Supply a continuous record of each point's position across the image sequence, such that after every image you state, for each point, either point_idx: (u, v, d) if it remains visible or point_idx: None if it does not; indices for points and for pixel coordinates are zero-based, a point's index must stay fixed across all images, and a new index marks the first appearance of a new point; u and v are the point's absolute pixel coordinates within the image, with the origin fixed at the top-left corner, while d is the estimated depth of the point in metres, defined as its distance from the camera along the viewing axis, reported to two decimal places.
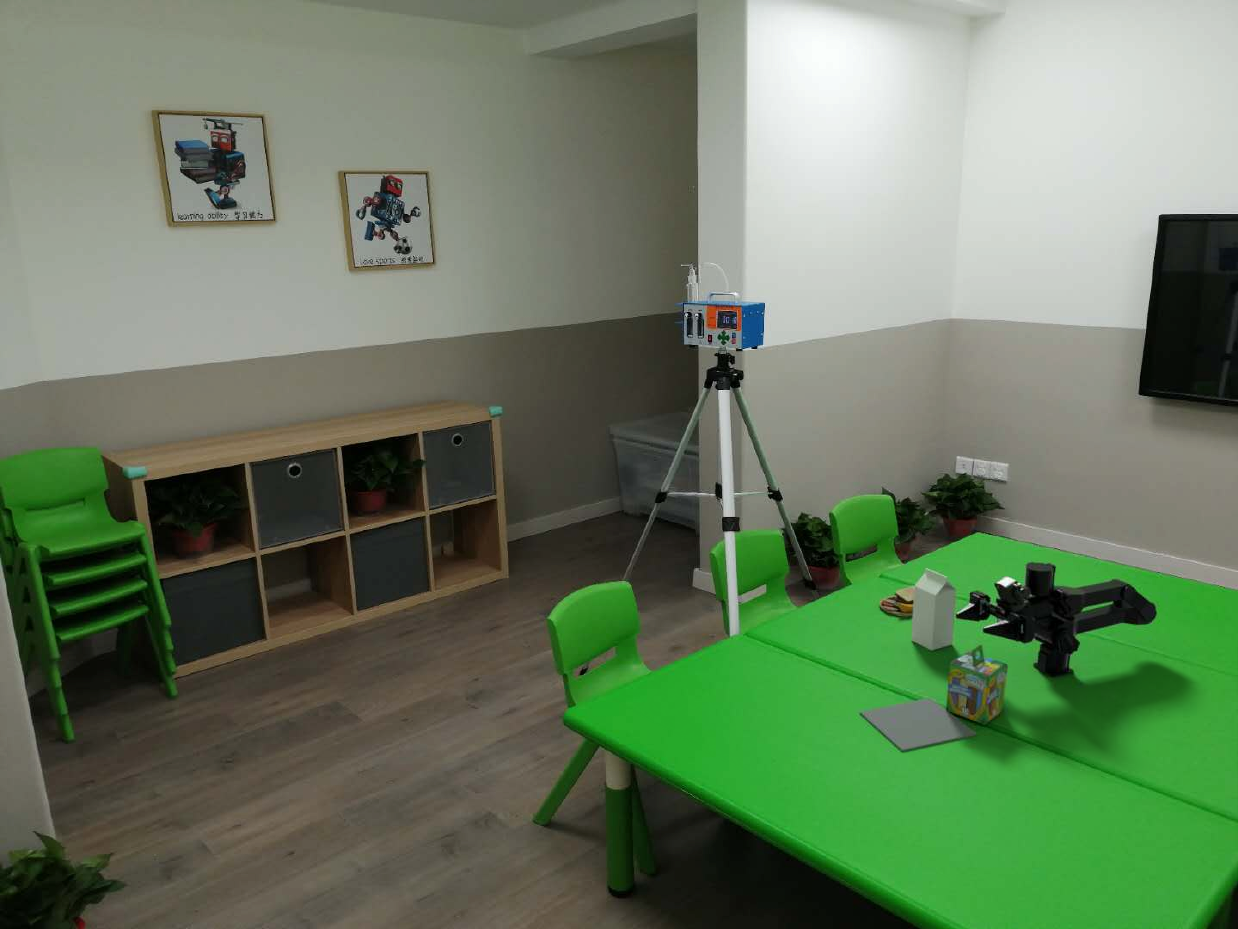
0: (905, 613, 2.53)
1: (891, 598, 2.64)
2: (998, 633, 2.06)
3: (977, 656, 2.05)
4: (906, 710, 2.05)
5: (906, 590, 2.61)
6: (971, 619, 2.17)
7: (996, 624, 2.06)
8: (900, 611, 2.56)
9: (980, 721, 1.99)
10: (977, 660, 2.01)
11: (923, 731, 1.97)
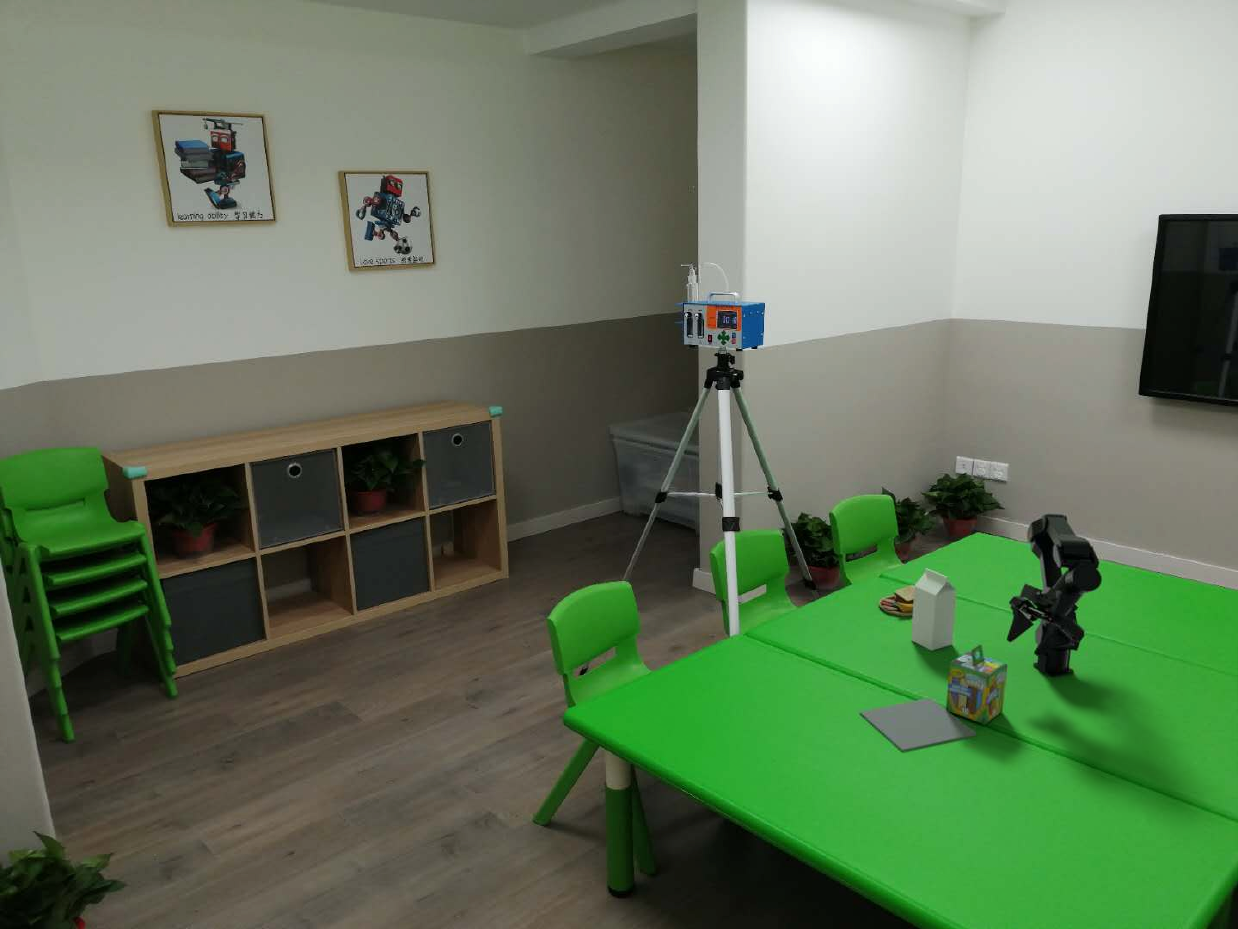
0: (905, 613, 2.53)
1: (890, 598, 2.64)
2: (1050, 647, 2.01)
3: (977, 656, 2.05)
4: (906, 710, 2.05)
5: (906, 590, 2.61)
6: (1024, 630, 2.11)
7: (1043, 642, 2.01)
8: (900, 611, 2.56)
9: (980, 721, 1.99)
10: (977, 660, 2.02)
11: (923, 731, 1.97)
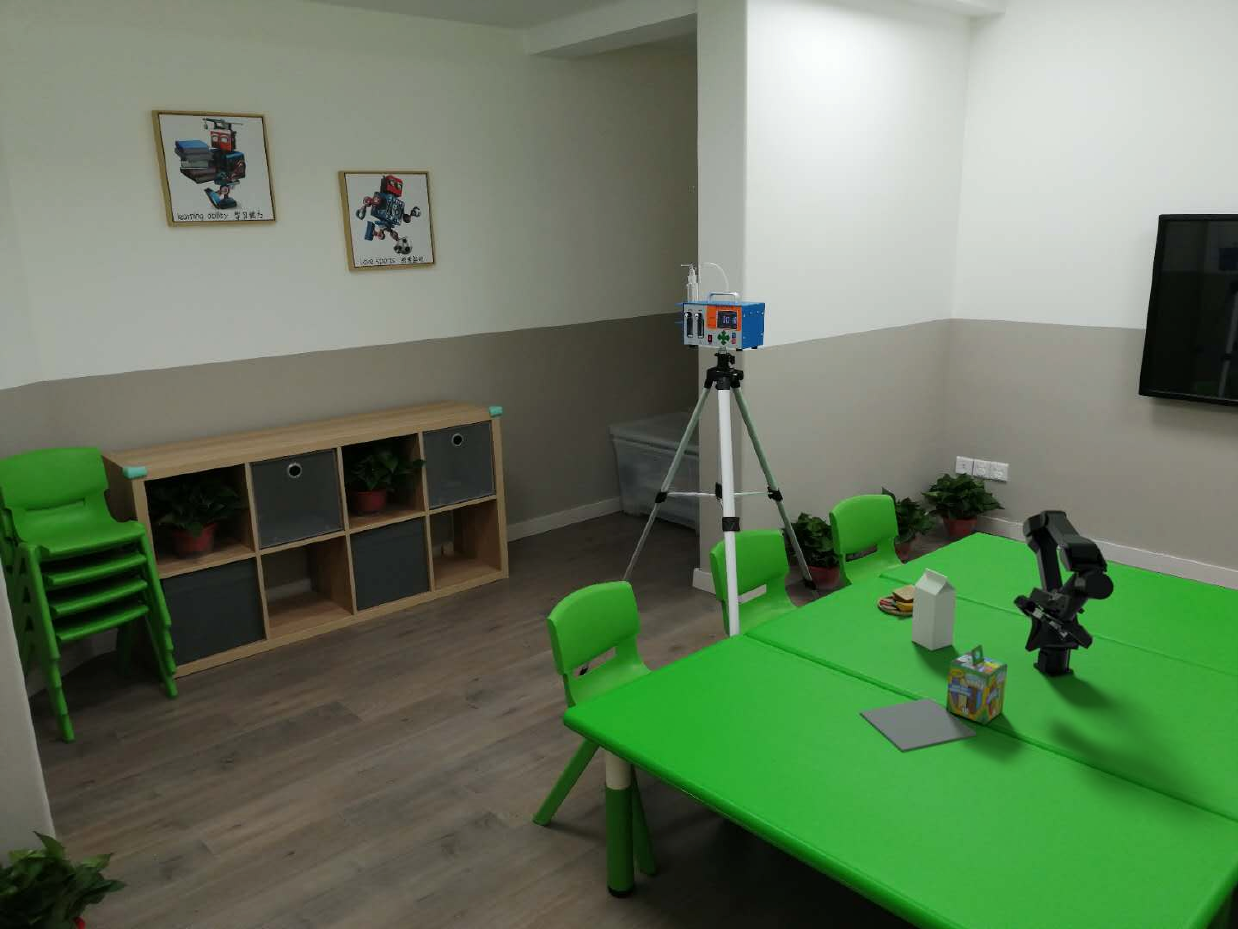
0: (904, 612, 2.54)
1: (889, 597, 2.64)
2: (1042, 644, 2.04)
3: (977, 656, 2.05)
4: (906, 710, 2.05)
5: (904, 589, 2.61)
6: None
7: (1036, 639, 2.04)
8: (899, 610, 2.57)
9: (980, 721, 1.99)
10: (977, 660, 2.02)
11: (923, 731, 1.97)
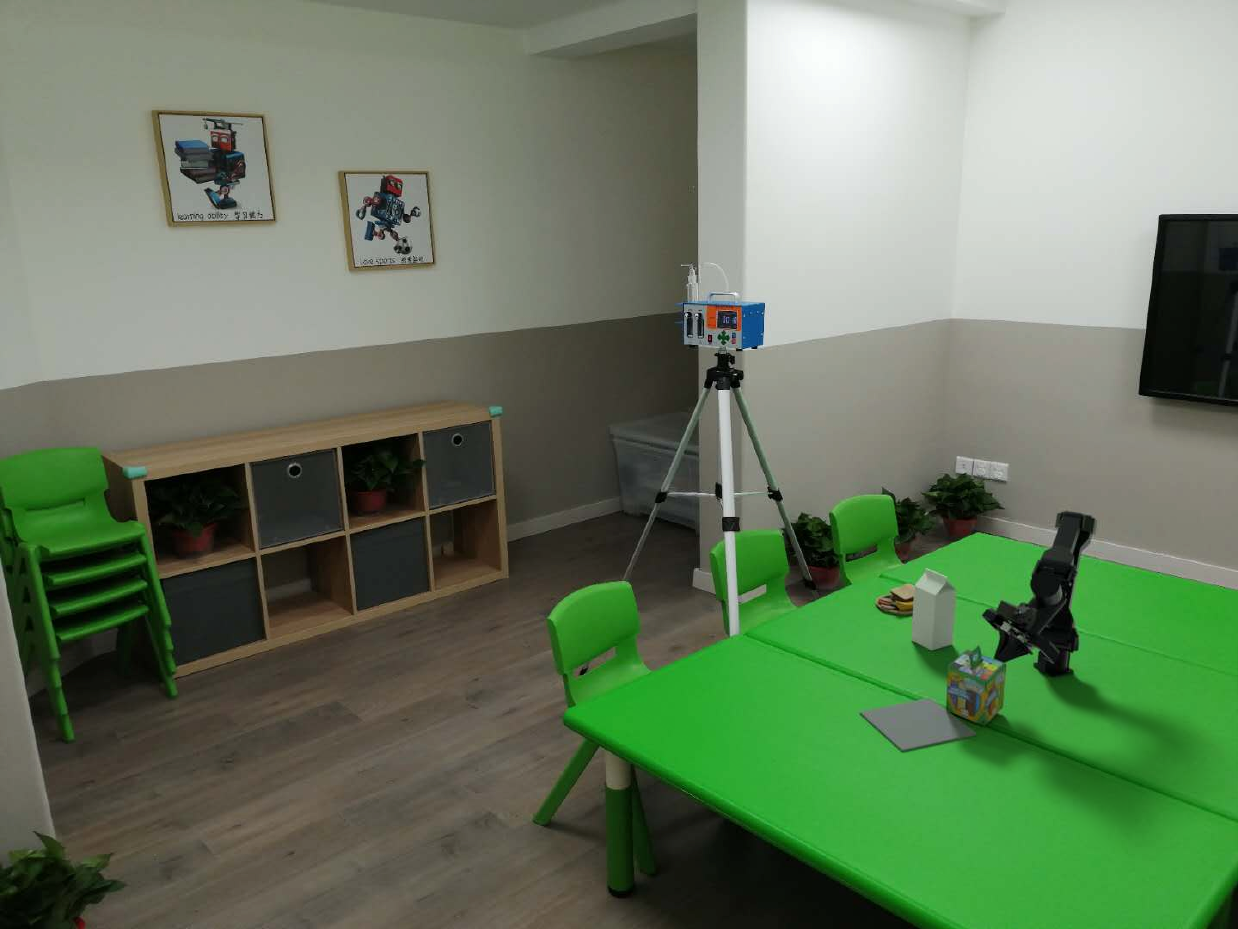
0: (903, 611, 2.54)
1: (886, 596, 2.65)
2: (1010, 658, 2.02)
3: (975, 655, 2.03)
4: (906, 710, 2.05)
5: (902, 588, 2.62)
6: None
7: (1003, 653, 2.02)
8: (897, 609, 2.57)
9: (980, 723, 1.99)
10: (975, 662, 2.00)
11: (923, 731, 1.97)
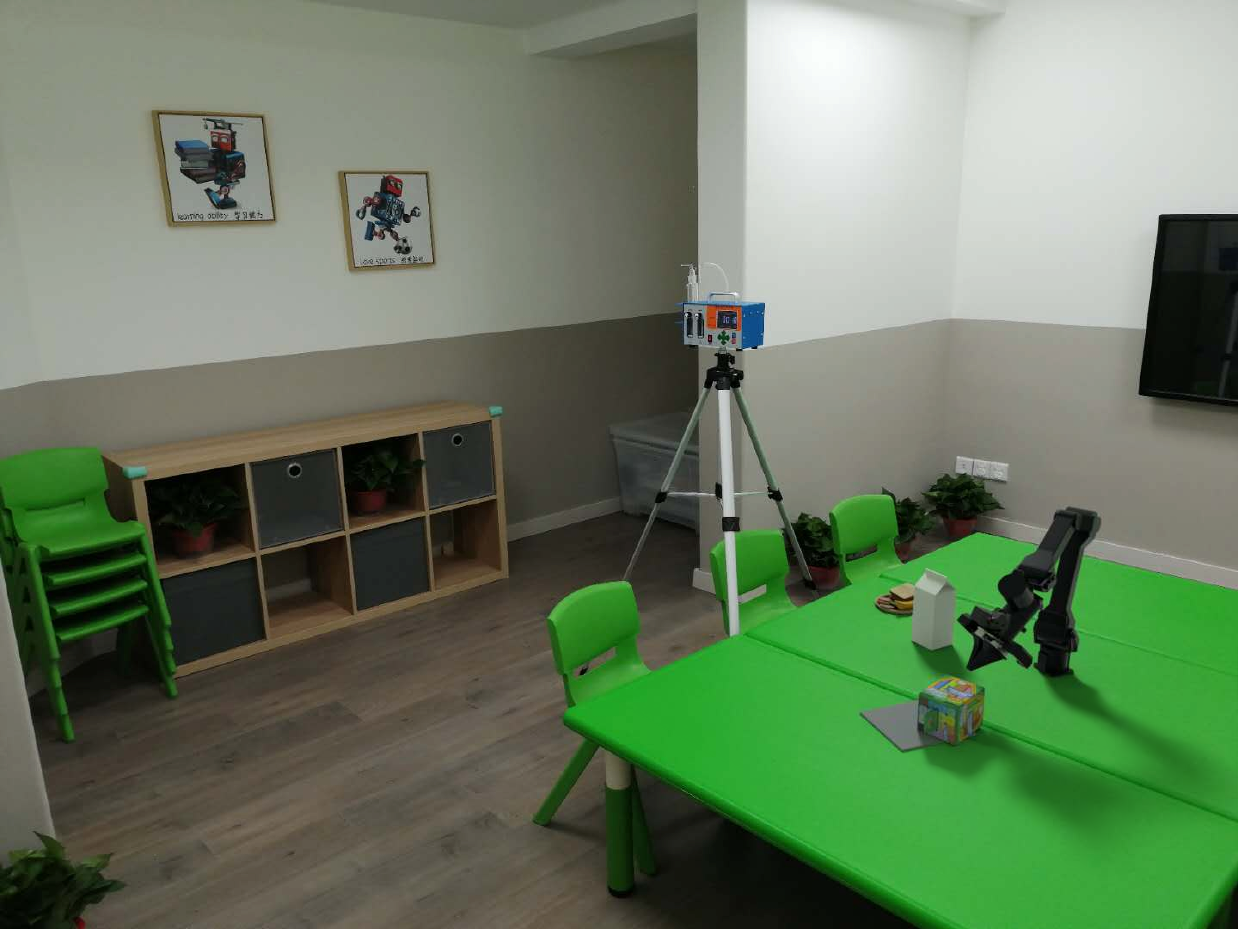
0: (902, 610, 2.55)
1: (885, 596, 2.65)
2: (984, 663, 2.01)
3: (929, 704, 1.94)
4: (906, 710, 2.05)
5: (900, 588, 2.62)
6: None
7: (977, 659, 2.00)
8: (896, 609, 2.57)
9: None
10: (934, 723, 1.93)
11: None
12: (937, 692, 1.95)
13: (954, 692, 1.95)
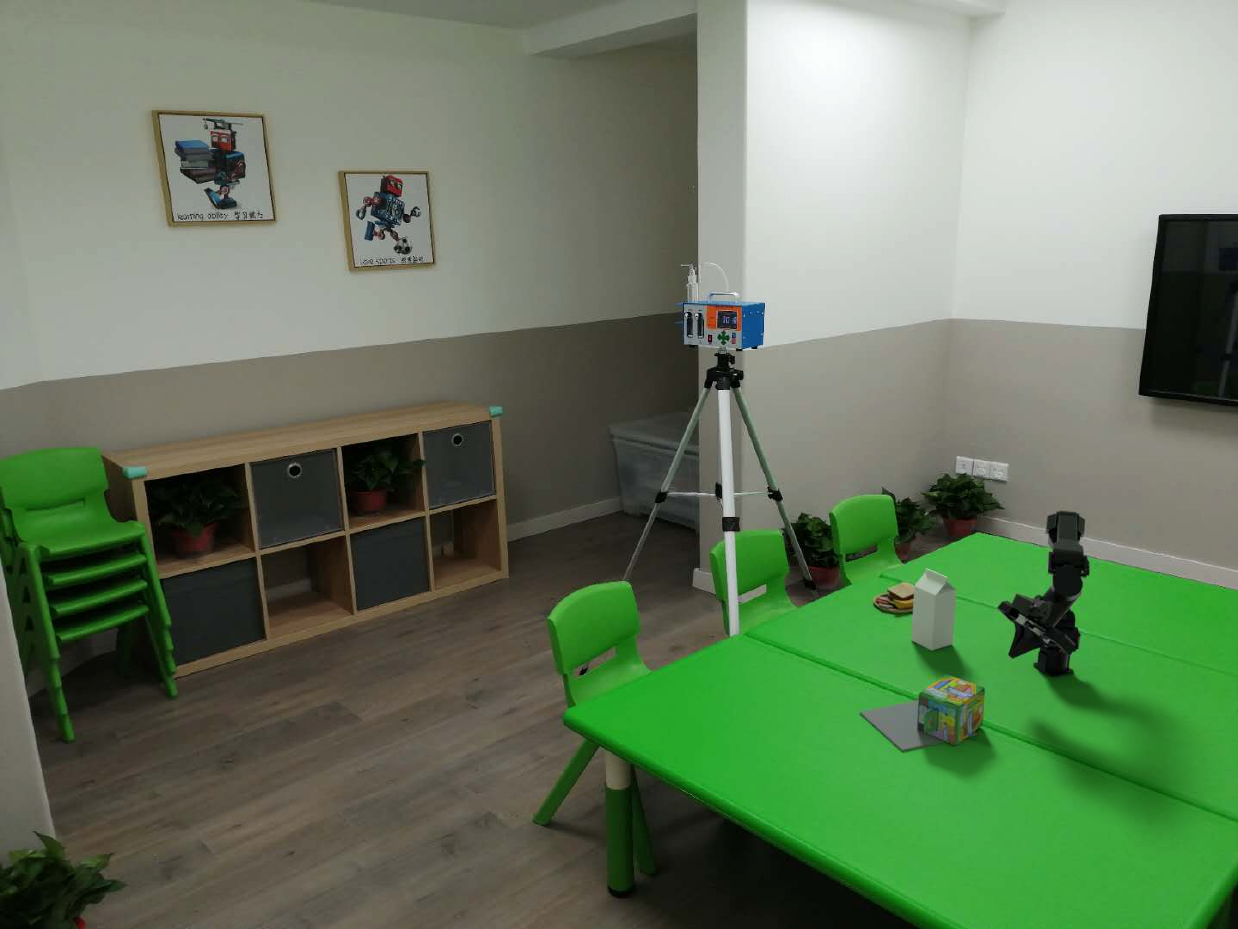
0: (901, 610, 2.55)
1: (883, 595, 2.66)
2: (1025, 650, 2.04)
3: (929, 704, 1.94)
4: (906, 710, 2.05)
5: (899, 587, 2.63)
6: None
7: (1019, 646, 2.03)
8: (895, 608, 2.58)
9: None
10: (934, 723, 1.93)
11: None
12: (937, 692, 1.95)
13: (954, 692, 1.95)
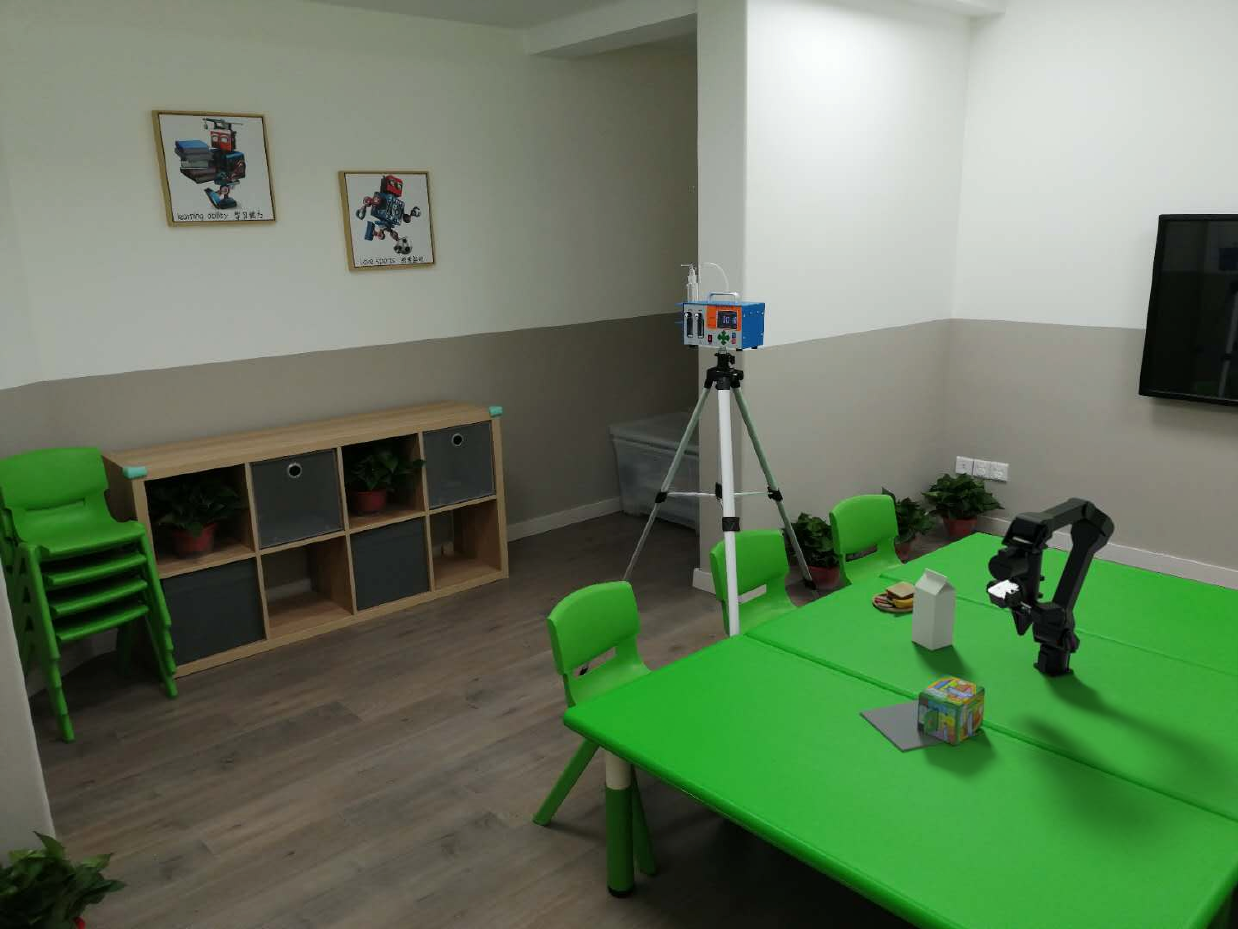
0: (900, 609, 2.56)
1: (882, 595, 2.66)
2: (1029, 624, 2.10)
3: (929, 704, 1.94)
4: (906, 710, 2.05)
5: (897, 586, 2.63)
6: None
7: (1021, 625, 2.10)
8: (894, 607, 2.58)
9: None
10: (934, 723, 1.93)
11: None
12: (937, 692, 1.95)
13: (954, 692, 1.95)
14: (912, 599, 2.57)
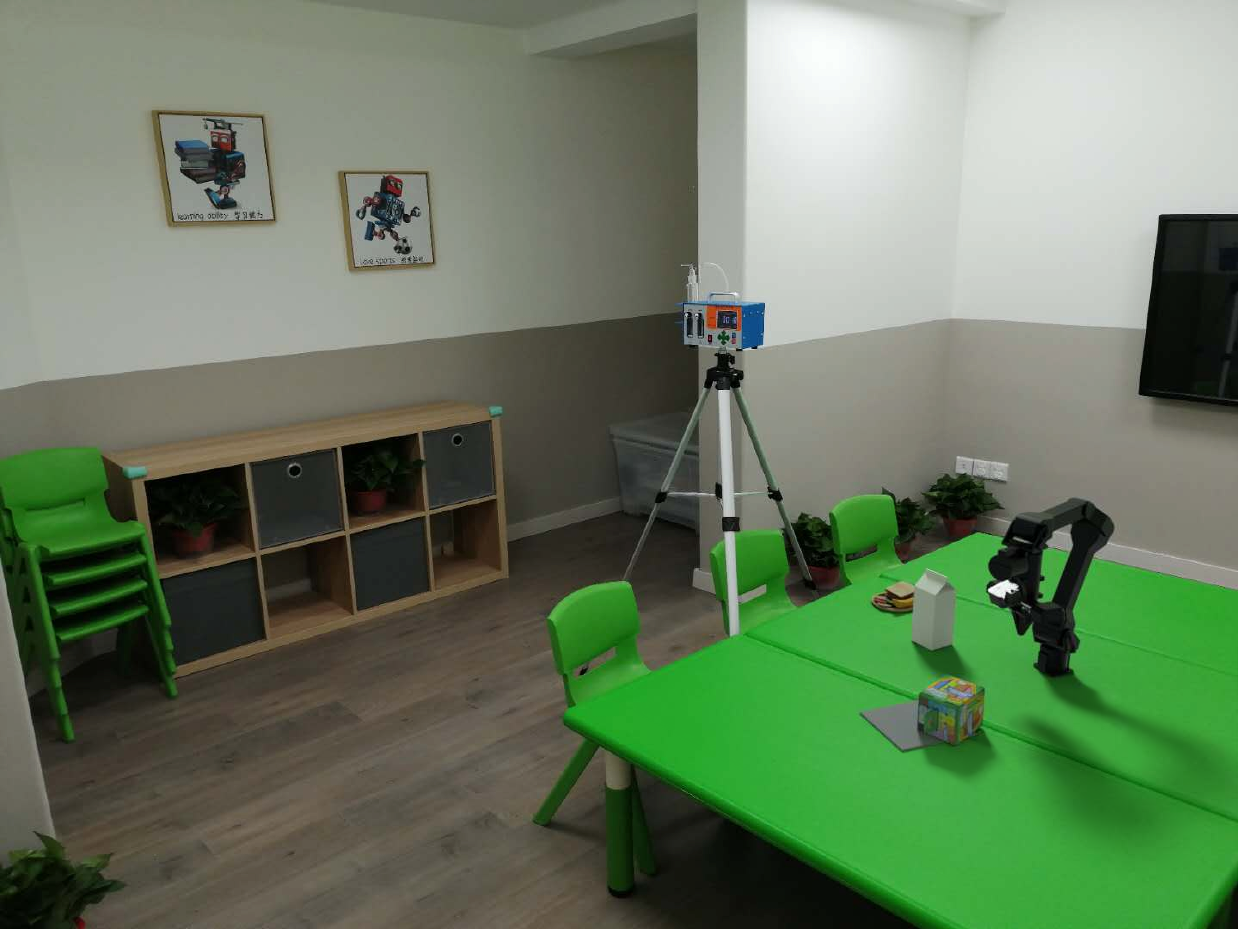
0: (900, 609, 2.56)
1: (881, 594, 2.66)
2: (1029, 624, 2.10)
3: (929, 704, 1.94)
4: (906, 710, 2.05)
5: (896, 586, 2.64)
6: None
7: (1021, 625, 2.10)
8: (894, 607, 2.58)
9: None
10: (934, 723, 1.93)
11: None
12: (937, 692, 1.95)
13: (954, 692, 1.95)
14: (911, 599, 2.58)
